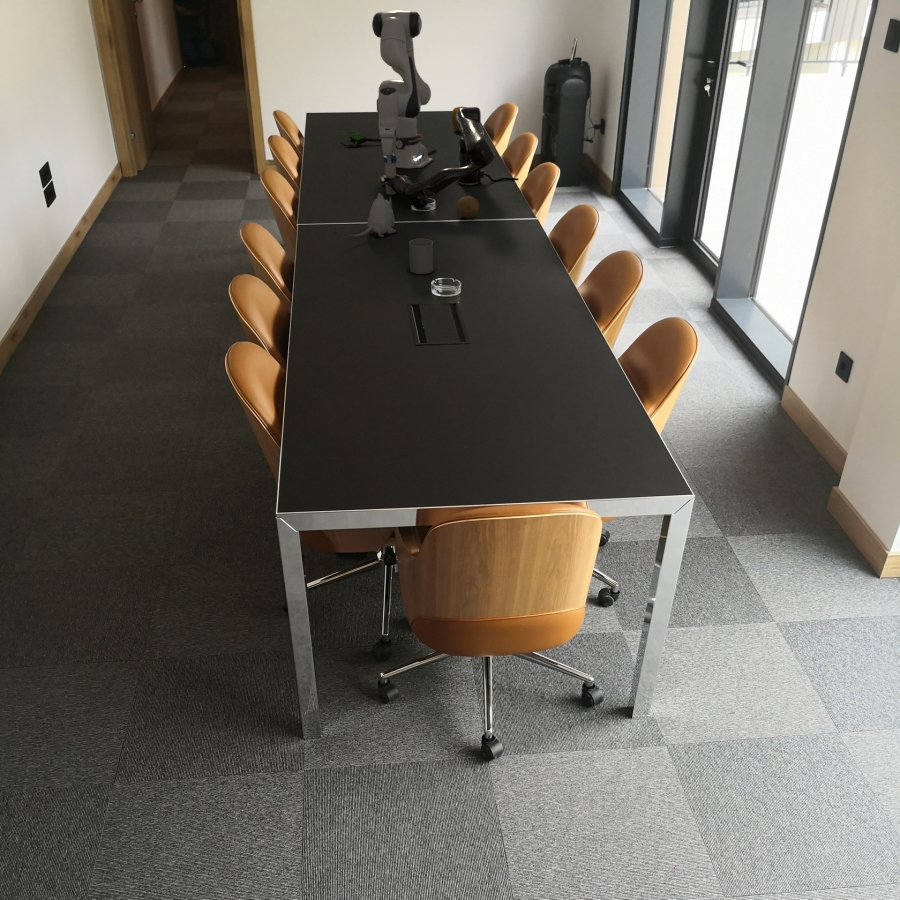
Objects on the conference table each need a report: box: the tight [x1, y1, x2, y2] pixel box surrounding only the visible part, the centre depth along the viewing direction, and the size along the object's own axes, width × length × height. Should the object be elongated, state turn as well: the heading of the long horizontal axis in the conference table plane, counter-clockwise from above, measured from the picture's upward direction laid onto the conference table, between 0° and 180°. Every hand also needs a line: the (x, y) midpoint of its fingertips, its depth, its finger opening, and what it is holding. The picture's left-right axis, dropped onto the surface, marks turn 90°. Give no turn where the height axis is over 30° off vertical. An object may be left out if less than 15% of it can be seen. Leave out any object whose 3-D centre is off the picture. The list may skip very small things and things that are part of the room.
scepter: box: [339, 131, 381, 148], centre depth 461 cm, size 6×13×30 cm
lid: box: [383, 155, 396, 164], centre depth 380 cm, size 5×6×2 cm
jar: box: [384, 162, 397, 195], centre depth 384 cm, size 5×5×15 cm
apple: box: [451, 105, 464, 132], centre depth 487 cm, size 11×11×13 cm
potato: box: [456, 195, 481, 219], centre depth 357 cm, size 10×14×8 cm
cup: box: [408, 237, 434, 275], centre depth 305 cm, size 8×8×10 cm
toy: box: [349, 192, 397, 238], centre depth 334 cm, size 9×24×15 cm, turn 137°
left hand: (390, 161), depth 381 cm, fingers open, 6 cm apart
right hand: (388, 176), depth 387 cm, fingers closed on jar, 4 cm apart
